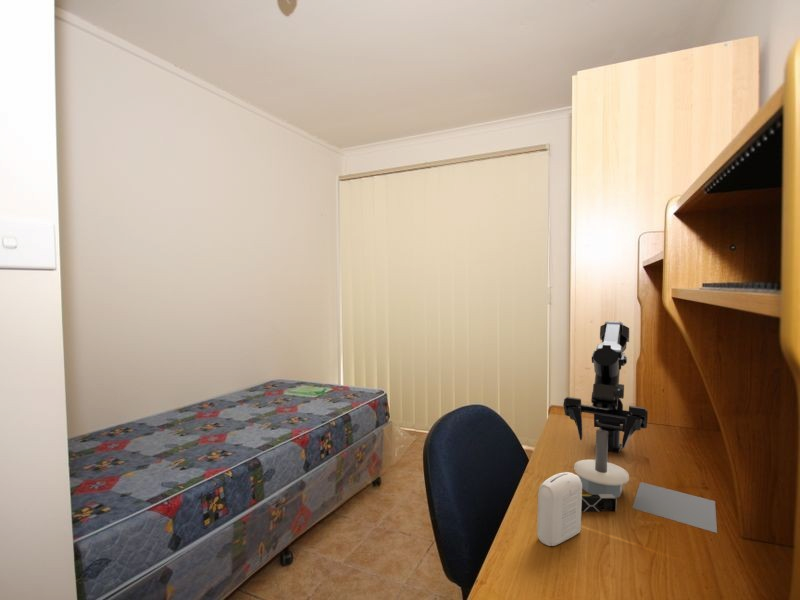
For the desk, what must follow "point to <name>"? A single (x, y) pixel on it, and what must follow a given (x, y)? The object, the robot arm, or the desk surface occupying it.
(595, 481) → the lid
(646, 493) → the mat
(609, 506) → the graphics card
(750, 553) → the desk surface
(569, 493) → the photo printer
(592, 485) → the bowl
